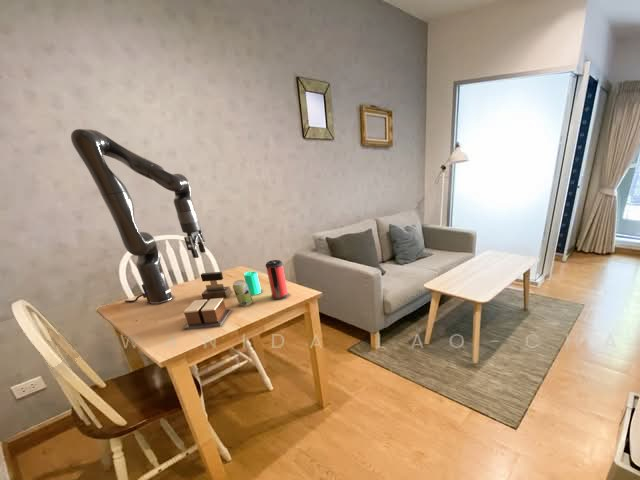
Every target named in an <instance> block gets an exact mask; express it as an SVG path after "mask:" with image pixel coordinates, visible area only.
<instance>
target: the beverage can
mask: <svg viewBox="0 0 640 480" xmlns="http://www.w3.org/2000/svg"><path fill="white" fill-rule="evenodd" d="M232 289H233V293H234V294H235V297H236V299H237V302H238V304H239V305H240V306H243V307H245V306H246V307H247V306H249V305H251V304H252V303H253V296H252V295H251V294H250V291H249V289H248V286H247V283H246V282H245V279H237V280H235V281H234V282H233V283H232Z"/></svg>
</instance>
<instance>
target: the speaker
mask: <svg viewBox="0 0 640 480" xmlns="http://www.w3.org/2000/svg"><path fill="white" fill-rule="evenodd" d="M265 268H266V272H267V273H266V274H267V278H268V282H269V287H270V292H271V298H272V299H274V300H283V299H285V298H287V297H288V296H289V293H288V289H287V282H286V277H285V271H284V263H283V261H281V260H280V259H272V260H269V261H267V262H266V263H265Z"/></svg>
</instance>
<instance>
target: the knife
mask: <svg viewBox="0 0 640 480" xmlns="http://www.w3.org/2000/svg"><path fill="white" fill-rule="evenodd" d="M200 278H201V282H209V284H205V288H206V289H207V291H218V290H225V289H224V287H225V286H224V283H218V281H223V279H224V275H223V272H222V271H214V272H202V273H201V274H200Z"/></svg>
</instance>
